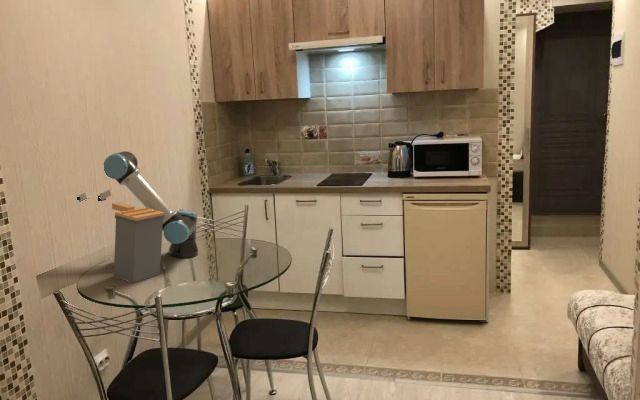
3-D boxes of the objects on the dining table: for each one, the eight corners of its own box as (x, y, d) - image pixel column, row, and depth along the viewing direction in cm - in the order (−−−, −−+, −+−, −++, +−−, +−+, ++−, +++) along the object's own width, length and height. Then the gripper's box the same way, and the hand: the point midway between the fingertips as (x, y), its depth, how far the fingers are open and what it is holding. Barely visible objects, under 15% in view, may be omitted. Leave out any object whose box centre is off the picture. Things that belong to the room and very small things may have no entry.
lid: (100, 210, 227) (100, 205, 226) (129, 206, 241) (129, 200, 241) (135, 220, 217) (136, 215, 217) (164, 215, 232) (164, 209, 232)
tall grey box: (112, 276, 228) (115, 214, 223) (140, 267, 243) (143, 209, 237) (133, 283, 223) (135, 220, 217) (160, 274, 237) (164, 215, 232)
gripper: (94, 212, 258) (121, 198, 248) (49, 219, 236) (76, 205, 226) (90, 198, 258) (116, 184, 248) (44, 204, 236) (71, 189, 226)
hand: (97, 194), depth 237 cm, fingers open, 13 cm apart
